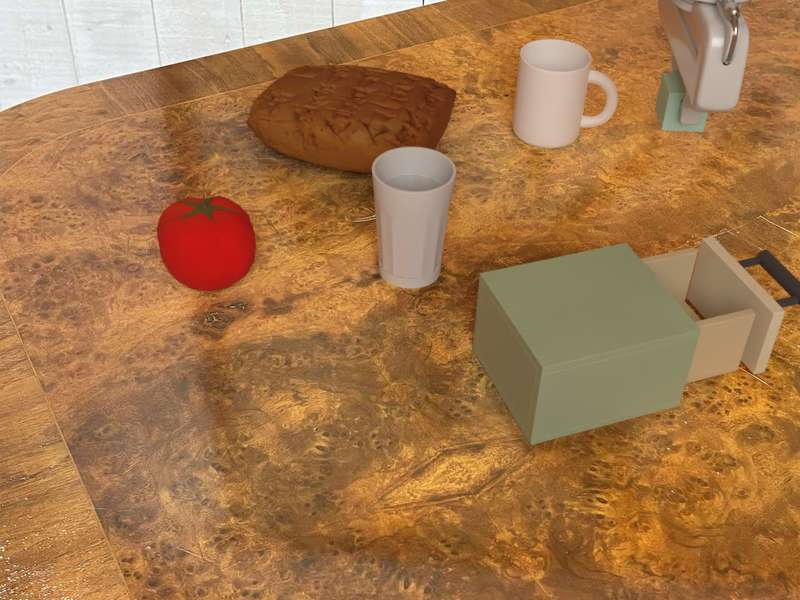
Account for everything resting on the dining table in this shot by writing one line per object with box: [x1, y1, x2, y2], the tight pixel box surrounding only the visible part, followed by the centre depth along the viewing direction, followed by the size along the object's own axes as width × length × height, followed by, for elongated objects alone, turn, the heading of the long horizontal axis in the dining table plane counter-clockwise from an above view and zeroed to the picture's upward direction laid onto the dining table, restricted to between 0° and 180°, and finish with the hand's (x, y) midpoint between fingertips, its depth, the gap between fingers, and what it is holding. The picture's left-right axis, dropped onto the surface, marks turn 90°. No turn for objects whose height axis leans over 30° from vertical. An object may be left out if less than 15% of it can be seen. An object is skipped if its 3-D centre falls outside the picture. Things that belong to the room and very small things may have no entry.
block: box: [654, 72, 709, 133], centre depth 101 cm, size 4×4×4 cm
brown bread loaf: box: [246, 64, 458, 174], centre depth 122 cm, size 22×17×8 cm
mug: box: [511, 38, 619, 150], centre depth 126 cm, size 12×8×10 cm
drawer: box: [640, 235, 800, 384], centre depth 97 cm, size 19×11×7 cm, turn 110°
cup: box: [371, 147, 457, 290], centre depth 104 cm, size 8×8×12 cm
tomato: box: [156, 195, 257, 292], centre depth 104 cm, size 9×10×8 cm
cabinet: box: [471, 242, 701, 446], centre depth 94 cm, size 15×13×9 cm
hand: (682, 105), depth 101 cm, fingers closed on block, 4 cm apart
